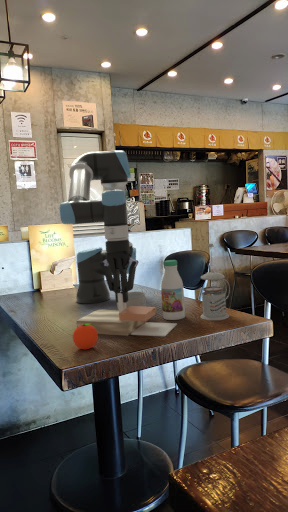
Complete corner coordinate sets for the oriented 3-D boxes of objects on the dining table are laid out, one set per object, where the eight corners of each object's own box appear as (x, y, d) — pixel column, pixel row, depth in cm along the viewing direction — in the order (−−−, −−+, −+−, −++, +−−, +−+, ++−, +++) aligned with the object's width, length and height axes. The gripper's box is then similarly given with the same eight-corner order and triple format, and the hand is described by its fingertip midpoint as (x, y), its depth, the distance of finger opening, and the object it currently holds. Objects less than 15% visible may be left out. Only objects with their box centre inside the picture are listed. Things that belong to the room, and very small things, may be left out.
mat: (145, 323, 124) (145, 322, 124) (177, 324, 120) (176, 323, 120) (131, 334, 113) (130, 333, 113) (165, 336, 109) (164, 335, 109)
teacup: (148, 318, 130) (146, 296, 130) (117, 321, 130) (115, 298, 129) (145, 309, 144) (143, 288, 143) (117, 311, 144) (115, 291, 143)
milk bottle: (167, 314, 134) (163, 259, 132) (188, 315, 131) (184, 258, 129) (159, 320, 127) (155, 262, 125) (181, 321, 124) (177, 261, 122)
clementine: (89, 341, 109) (87, 318, 109) (106, 345, 105) (104, 320, 104) (68, 350, 103) (66, 325, 102) (86, 354, 99) (83, 328, 98)
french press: (194, 316, 128) (189, 244, 126) (219, 310, 134) (216, 241, 132) (213, 322, 120) (208, 245, 117) (239, 315, 126) (235, 241, 123)
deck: (98, 320, 132) (97, 309, 132) (145, 322, 125) (144, 310, 125) (77, 332, 119) (76, 320, 119) (128, 335, 112) (127, 322, 112)
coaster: (131, 312, 124) (130, 305, 124) (156, 313, 121) (156, 307, 120) (119, 319, 116) (118, 313, 116) (145, 321, 112) (145, 314, 112)
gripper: (93, 241, 117) (99, 314, 119) (130, 239, 112) (136, 315, 114) (104, 239, 124) (110, 308, 126) (140, 237, 119) (145, 309, 121)
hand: (123, 312), depth 120 cm, fingers closed
